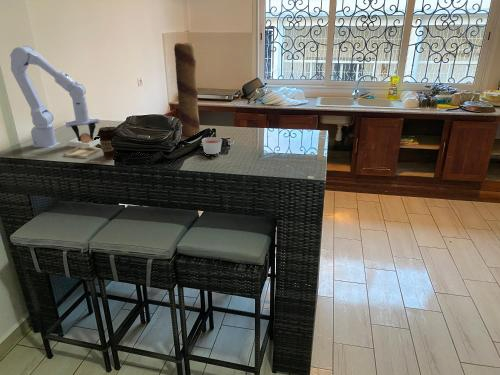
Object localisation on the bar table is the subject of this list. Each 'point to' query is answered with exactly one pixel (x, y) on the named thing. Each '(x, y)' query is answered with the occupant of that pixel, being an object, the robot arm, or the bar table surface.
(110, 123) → the bar table surface
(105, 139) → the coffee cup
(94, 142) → the dish
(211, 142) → the candle
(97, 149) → the tray
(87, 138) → the ball
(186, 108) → the wafer roll
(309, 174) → the bar table surface
